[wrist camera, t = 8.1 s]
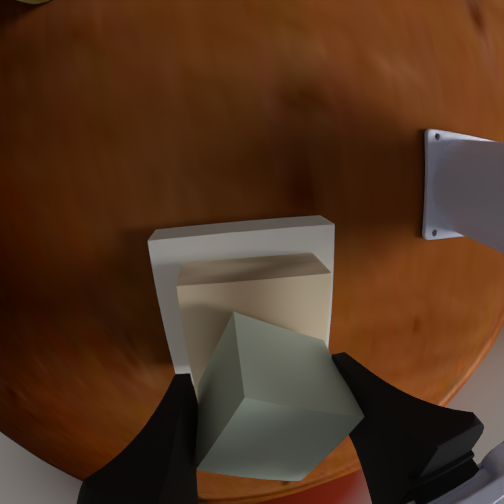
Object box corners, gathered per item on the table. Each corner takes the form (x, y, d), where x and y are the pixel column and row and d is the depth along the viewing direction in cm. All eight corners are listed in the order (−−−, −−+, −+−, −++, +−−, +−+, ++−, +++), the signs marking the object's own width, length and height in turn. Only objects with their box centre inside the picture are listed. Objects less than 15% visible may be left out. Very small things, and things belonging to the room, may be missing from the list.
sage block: (323, 340, 13) (364, 416, 9) (279, 404, 15) (299, 480, 10) (233, 311, 12) (244, 397, 8) (197, 384, 14) (195, 469, 9)
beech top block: (312, 252, 16) (331, 273, 14) (307, 355, 19) (320, 385, 16) (182, 262, 16) (176, 286, 13) (198, 366, 18) (197, 399, 15)
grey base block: (317, 213, 19) (334, 224, 16) (313, 343, 22) (326, 367, 19) (157, 227, 18) (147, 240, 15) (181, 358, 21) (178, 385, 18)
